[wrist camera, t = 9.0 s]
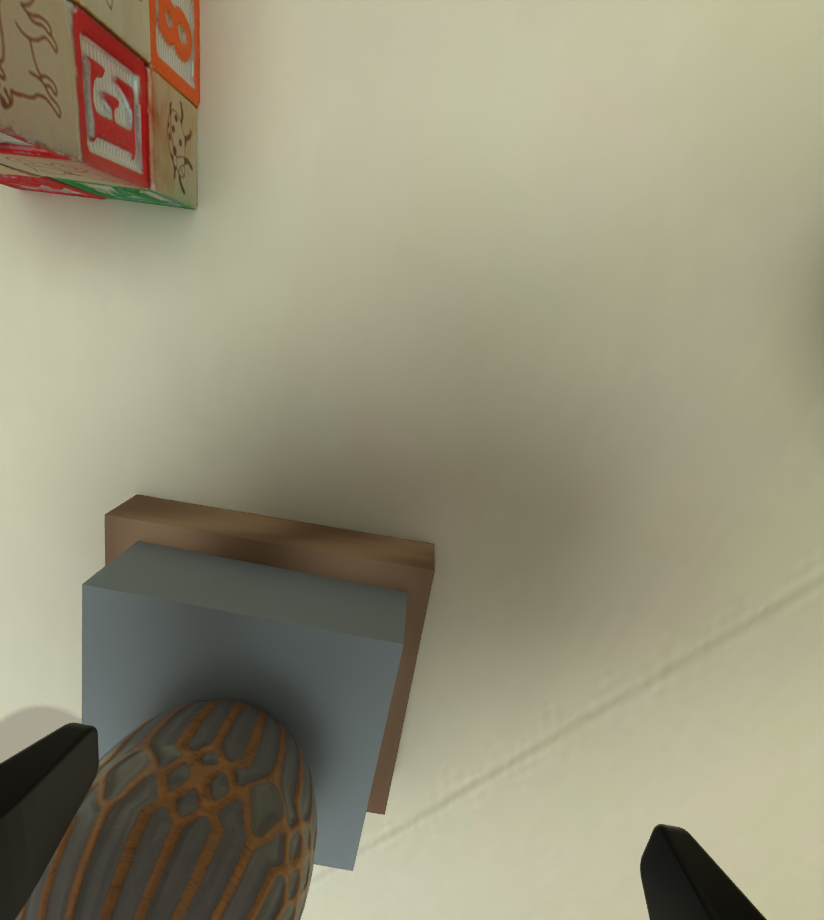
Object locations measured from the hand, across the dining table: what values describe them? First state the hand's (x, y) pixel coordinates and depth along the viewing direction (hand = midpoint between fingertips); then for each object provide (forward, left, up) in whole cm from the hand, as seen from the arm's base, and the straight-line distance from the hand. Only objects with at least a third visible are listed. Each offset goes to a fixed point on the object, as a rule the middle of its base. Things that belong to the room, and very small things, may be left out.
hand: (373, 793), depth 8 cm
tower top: (+5, +7, -10) cm, 13 cm away
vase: (+4, +8, -7) cm, 11 cm away
